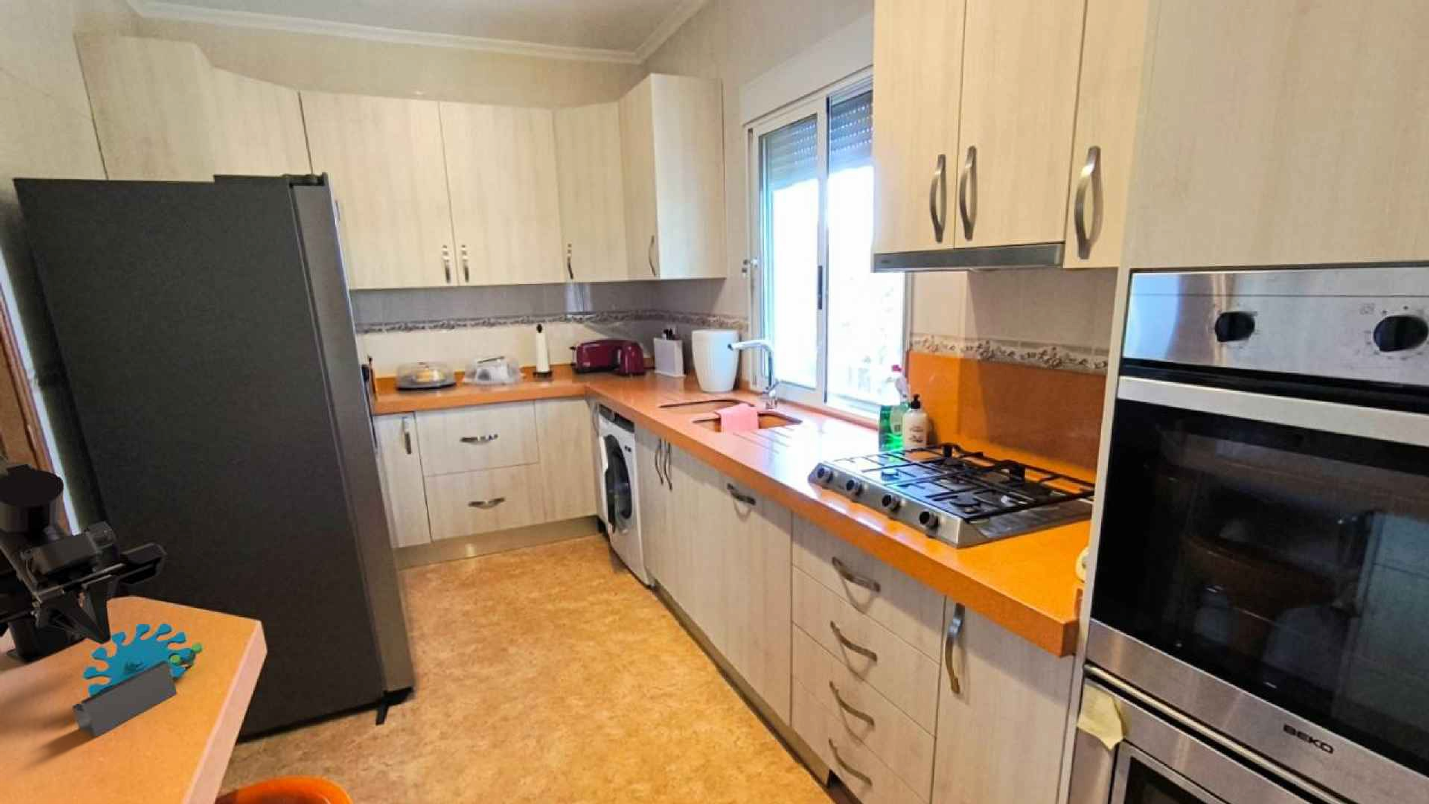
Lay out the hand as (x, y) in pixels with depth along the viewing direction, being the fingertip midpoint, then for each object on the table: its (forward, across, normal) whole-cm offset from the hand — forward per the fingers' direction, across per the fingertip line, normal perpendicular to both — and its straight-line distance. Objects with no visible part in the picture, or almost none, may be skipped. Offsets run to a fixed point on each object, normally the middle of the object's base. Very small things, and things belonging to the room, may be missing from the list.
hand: (106, 641), depth 77 cm
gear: (+8, +2, +2) cm, 8 cm away
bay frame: (+10, -2, 0) cm, 10 cm away
